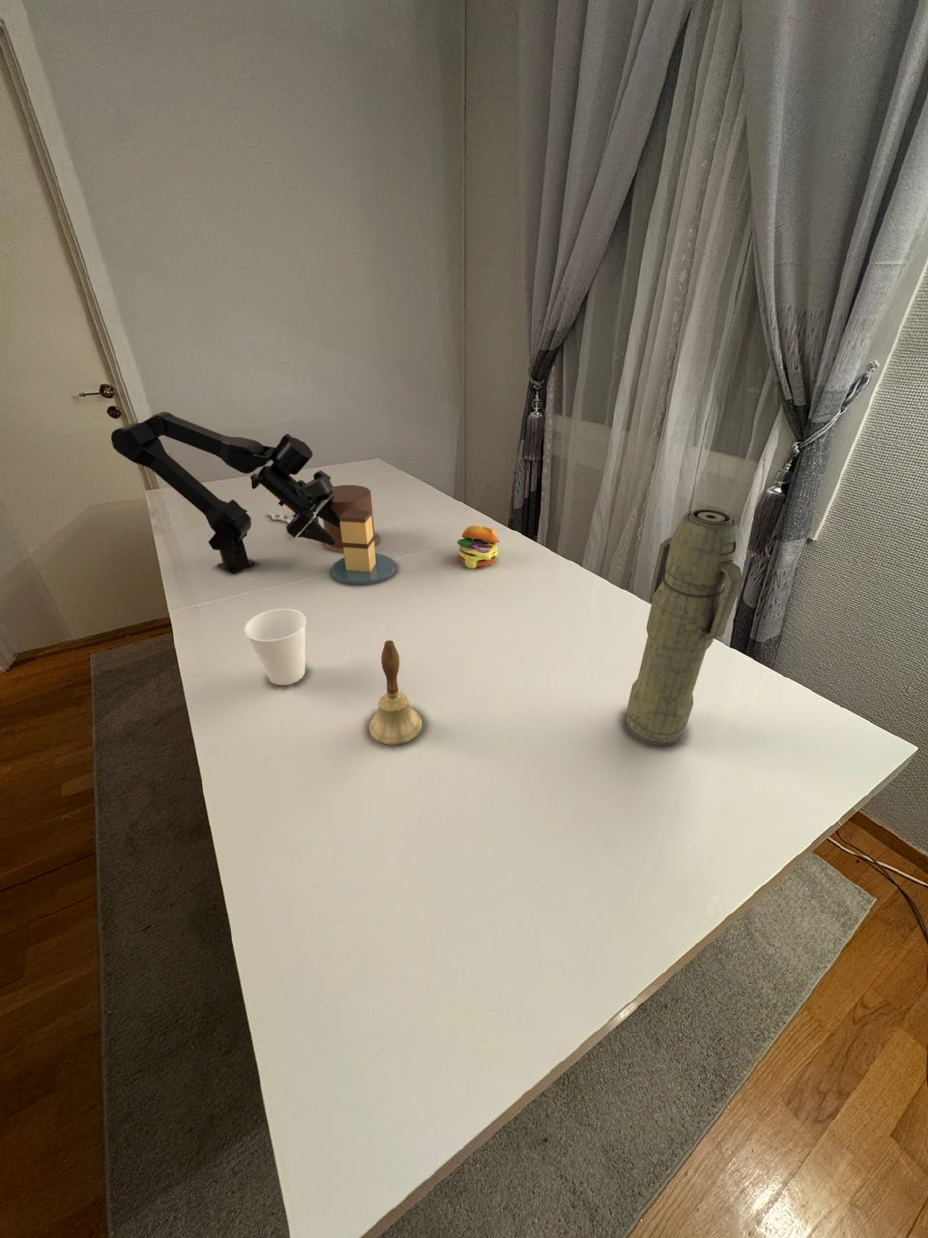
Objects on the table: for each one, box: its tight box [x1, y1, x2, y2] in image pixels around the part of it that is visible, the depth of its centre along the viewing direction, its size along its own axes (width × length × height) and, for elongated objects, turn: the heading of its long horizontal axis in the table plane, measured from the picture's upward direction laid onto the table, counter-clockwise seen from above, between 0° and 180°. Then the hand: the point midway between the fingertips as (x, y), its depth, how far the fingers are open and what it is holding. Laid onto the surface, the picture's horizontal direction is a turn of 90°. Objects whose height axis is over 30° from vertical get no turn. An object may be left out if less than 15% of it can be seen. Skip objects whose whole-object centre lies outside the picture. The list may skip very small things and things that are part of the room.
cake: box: [322, 484, 378, 553], centre depth 137 cm, size 14×14×13 cm
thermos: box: [624, 508, 744, 747], centre depth 72 cm, size 9×12×35 cm
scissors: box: [268, 512, 293, 537], centre depth 149 cm, size 11×1×20 cm
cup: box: [243, 608, 307, 686], centre depth 89 cm, size 10×10×11 cm
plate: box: [331, 553, 396, 586], centre depth 126 cm, size 15×15×1 cm
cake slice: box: [339, 510, 376, 572], centre depth 122 cm, size 6×5×13 cm
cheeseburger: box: [456, 525, 500, 569], centre depth 129 cm, size 10×11×10 cm
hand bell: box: [368, 640, 423, 746], centre depth 77 cm, size 8×8×16 cm
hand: (339, 535), depth 122 cm, fingers open, 9 cm apart
